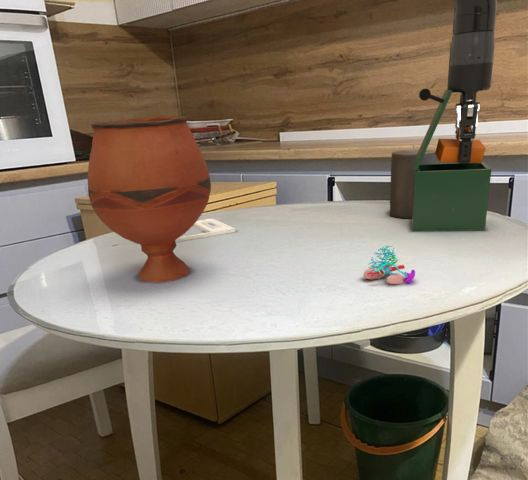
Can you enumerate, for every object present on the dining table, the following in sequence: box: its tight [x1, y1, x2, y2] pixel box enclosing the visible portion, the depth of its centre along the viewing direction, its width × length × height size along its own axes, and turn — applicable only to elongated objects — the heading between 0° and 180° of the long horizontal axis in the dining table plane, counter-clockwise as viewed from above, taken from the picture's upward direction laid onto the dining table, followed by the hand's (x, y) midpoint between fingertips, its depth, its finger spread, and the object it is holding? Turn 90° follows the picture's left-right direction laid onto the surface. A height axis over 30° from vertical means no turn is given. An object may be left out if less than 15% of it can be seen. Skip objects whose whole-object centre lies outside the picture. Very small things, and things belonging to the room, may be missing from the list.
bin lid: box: [414, 88, 453, 170], centre depth 103 cm, size 14×12×5 cm
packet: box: [435, 138, 487, 163], centre depth 103 cm, size 4×8×3 cm, turn 90°
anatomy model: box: [362, 245, 416, 285], centre depth 80 cm, size 5×8×7 cm
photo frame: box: [175, 218, 236, 243], centre depth 120 cm, size 15×1×18 cm
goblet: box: [87, 115, 212, 283], centre depth 86 cm, size 19×19×25 cm
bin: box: [411, 161, 492, 233], centre depth 108 cm, size 14×12×12 cm
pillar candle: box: [388, 145, 437, 219], centre depth 120 cm, size 10×10×15 cm
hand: (462, 161), depth 103 cm, fingers closed on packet, 5 cm apart
